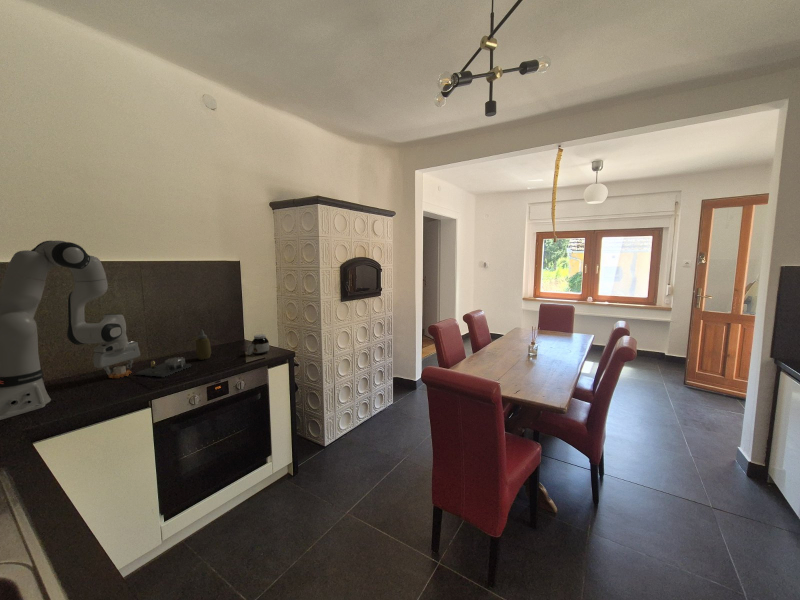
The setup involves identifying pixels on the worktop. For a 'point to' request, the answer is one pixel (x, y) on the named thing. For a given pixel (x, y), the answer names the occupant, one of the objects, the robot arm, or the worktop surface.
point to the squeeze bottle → (203, 346)
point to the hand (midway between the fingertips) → (119, 370)
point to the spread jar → (258, 345)
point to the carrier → (165, 367)
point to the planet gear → (119, 372)
